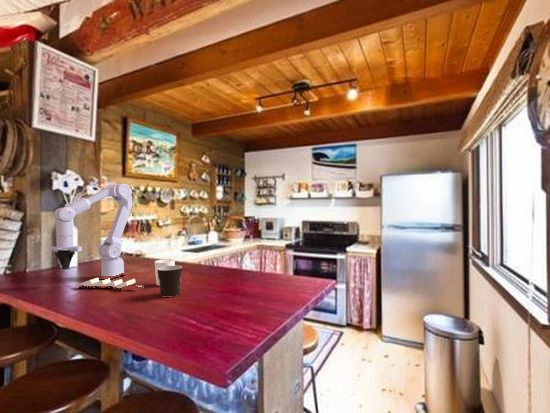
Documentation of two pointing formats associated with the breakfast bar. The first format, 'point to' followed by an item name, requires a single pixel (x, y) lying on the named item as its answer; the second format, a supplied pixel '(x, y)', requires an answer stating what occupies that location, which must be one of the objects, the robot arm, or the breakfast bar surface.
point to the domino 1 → (89, 282)
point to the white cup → (161, 264)
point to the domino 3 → (113, 283)
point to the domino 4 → (125, 283)
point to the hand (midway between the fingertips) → (65, 268)
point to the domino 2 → (100, 282)
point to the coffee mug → (169, 280)
